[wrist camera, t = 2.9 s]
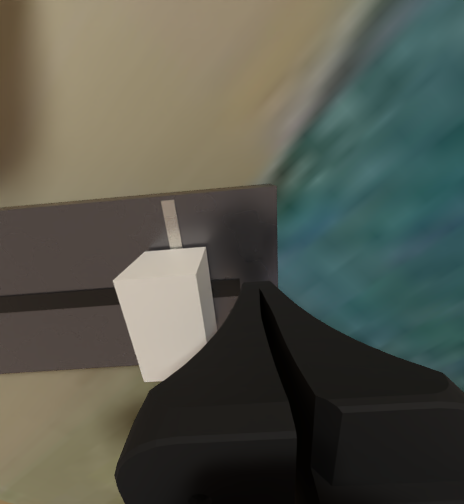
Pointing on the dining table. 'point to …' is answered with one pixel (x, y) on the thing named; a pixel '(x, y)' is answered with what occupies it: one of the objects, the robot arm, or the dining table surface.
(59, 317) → the panel
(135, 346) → the fader
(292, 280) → the dining table surface
